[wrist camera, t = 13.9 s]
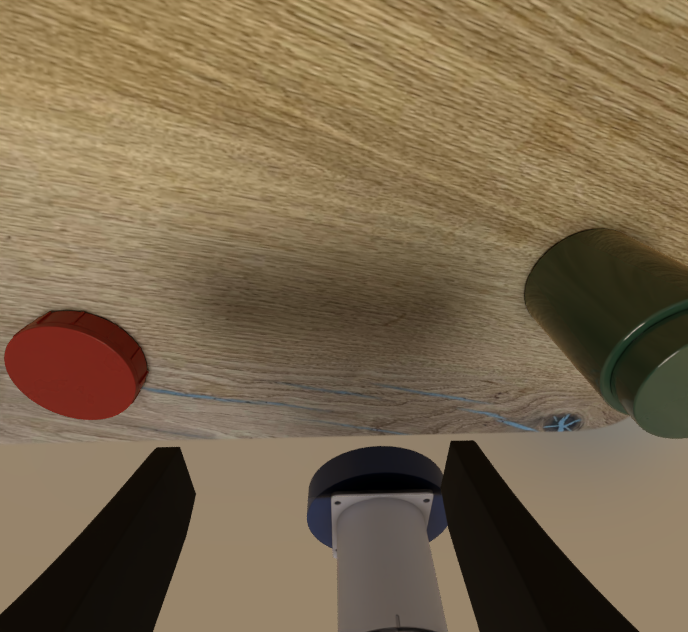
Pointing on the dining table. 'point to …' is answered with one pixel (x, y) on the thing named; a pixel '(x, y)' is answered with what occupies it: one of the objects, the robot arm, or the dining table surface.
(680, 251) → the dining table surface
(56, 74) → the dining table surface
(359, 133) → the dining table surface
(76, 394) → the jar lid
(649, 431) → the jam jar
